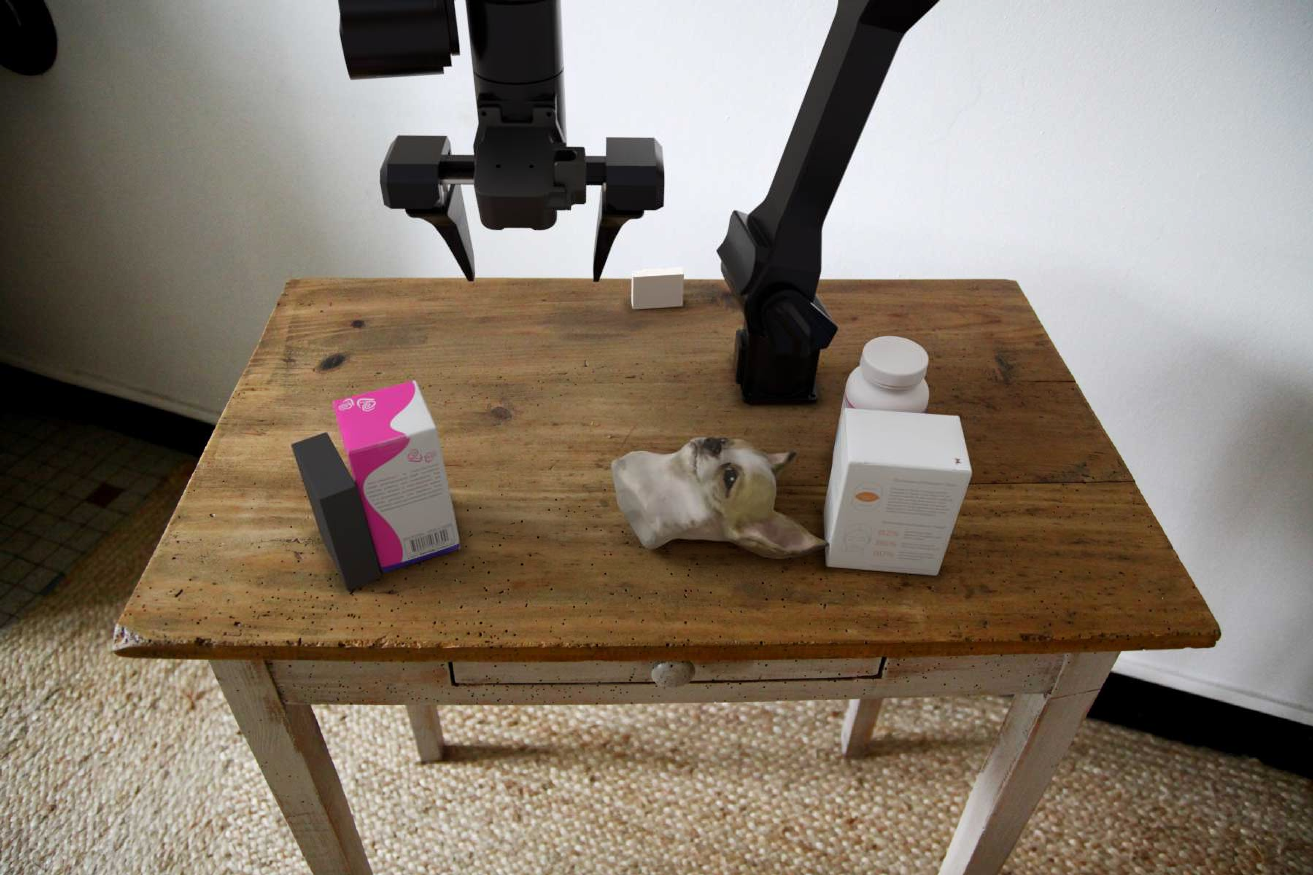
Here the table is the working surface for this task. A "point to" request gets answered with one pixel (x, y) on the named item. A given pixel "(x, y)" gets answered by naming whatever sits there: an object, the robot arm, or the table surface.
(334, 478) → the black rubber pad
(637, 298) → the eraser
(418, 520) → the supplement box
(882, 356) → the pill bottle
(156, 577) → the table surface
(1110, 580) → the table surface
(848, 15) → the robot arm
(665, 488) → the ceramic sculpture
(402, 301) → the table surface
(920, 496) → the small box
